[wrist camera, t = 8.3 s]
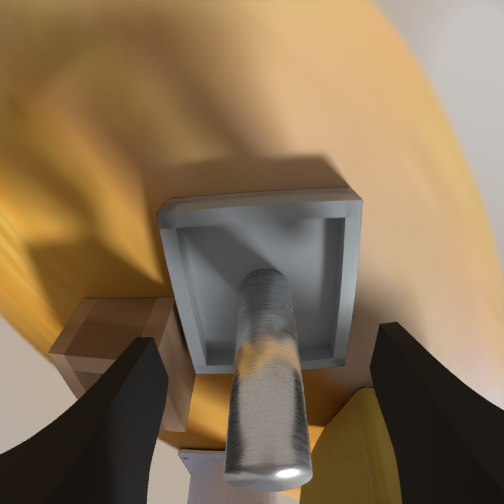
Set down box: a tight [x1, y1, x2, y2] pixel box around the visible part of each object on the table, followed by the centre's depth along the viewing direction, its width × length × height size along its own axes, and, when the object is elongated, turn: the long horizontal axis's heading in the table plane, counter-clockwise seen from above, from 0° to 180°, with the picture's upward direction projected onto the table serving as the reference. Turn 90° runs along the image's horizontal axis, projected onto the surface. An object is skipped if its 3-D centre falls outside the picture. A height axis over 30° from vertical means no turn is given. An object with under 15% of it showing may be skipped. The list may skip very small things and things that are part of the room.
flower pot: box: [300, 388, 402, 504], centre depth 14 cm, size 9×9×9 cm
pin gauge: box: [223, 268, 313, 492], centre depth 9 cm, size 2×2×8 cm
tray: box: [156, 187, 363, 374], centre depth 13 cm, size 8×7×2 cm
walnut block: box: [48, 297, 196, 432], centre depth 13 cm, size 5×5×4 cm
